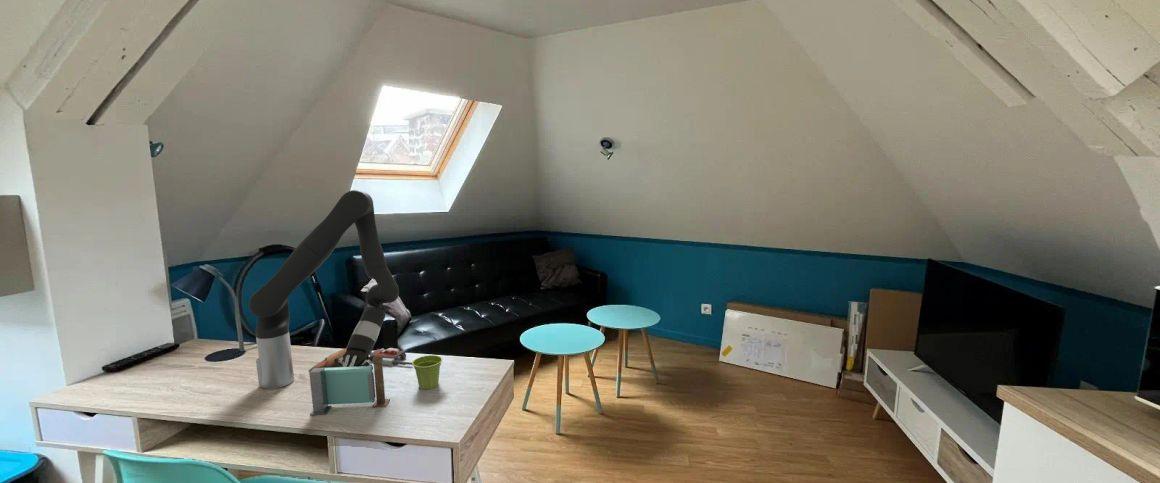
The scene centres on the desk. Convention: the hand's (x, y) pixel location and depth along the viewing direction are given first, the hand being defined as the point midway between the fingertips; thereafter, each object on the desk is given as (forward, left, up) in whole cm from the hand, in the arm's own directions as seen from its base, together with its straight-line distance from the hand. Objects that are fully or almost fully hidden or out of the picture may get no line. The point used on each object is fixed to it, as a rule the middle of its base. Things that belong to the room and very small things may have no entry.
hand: (341, 391), depth 145 cm
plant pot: (+24, +9, -4) cm, 26 cm away
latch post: (-5, -4, -4) cm, 7 cm away
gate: (+2, -1, -3) cm, 4 cm away
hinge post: (+12, -2, -4) cm, 13 cm away
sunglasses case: (-15, +33, -5) cm, 37 cm away
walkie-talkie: (+7, +32, -5) cm, 33 cm away
